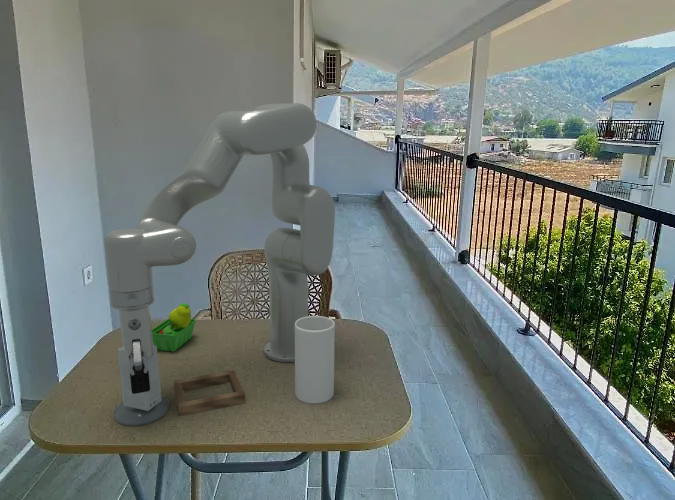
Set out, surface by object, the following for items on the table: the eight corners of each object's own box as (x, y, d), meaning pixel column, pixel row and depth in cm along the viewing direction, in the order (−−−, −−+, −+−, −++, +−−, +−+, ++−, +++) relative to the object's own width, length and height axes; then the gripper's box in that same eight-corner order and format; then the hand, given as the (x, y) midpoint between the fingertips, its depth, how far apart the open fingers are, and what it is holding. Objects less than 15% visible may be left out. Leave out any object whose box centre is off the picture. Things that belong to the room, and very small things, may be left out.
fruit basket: (172, 333, 132) (169, 294, 129) (202, 336, 130) (200, 297, 128) (148, 351, 121) (144, 309, 118) (180, 355, 119) (177, 312, 117)
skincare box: (162, 400, 96) (157, 345, 93) (147, 412, 92) (142, 354, 89) (137, 395, 98) (132, 340, 95) (122, 406, 94) (116, 349, 91)
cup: (306, 407, 98) (306, 334, 94) (288, 389, 104) (287, 320, 100) (341, 396, 102) (342, 325, 98) (321, 379, 109) (322, 312, 105)
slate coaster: (167, 393, 102) (166, 390, 102) (170, 419, 93) (170, 415, 93) (115, 403, 98) (114, 399, 98) (113, 430, 89) (113, 427, 89)
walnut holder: (234, 378, 109) (234, 370, 108) (245, 403, 99) (245, 394, 98) (174, 389, 104) (173, 380, 103) (178, 416, 94) (178, 407, 93)
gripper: (156, 308, 83) (164, 400, 88) (151, 280, 99) (158, 359, 103) (108, 314, 81) (118, 409, 85) (111, 284, 96) (120, 365, 100)
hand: (140, 381), depth 94 cm, fingers closed on skincare box, 6 cm apart
